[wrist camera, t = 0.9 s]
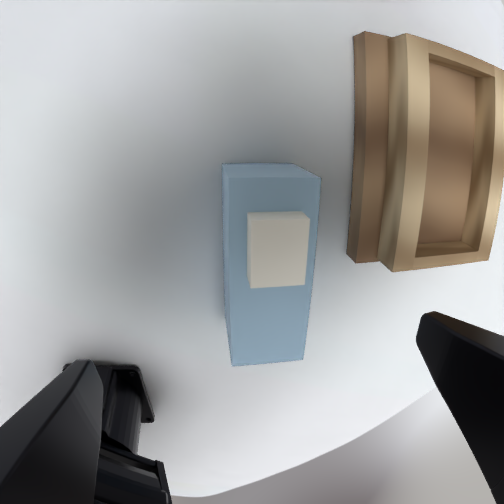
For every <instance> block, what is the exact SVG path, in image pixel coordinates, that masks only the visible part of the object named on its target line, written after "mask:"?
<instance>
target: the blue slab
mask: <svg viewBox="0 0 504 504" xmlns="http://www.w3.org/2000/svg"><path fill="white" fill-rule="evenodd" d="M320 188H321V178H320V177H318V176H316V175H314V174H312V173H310V172H309V171H307V170H305V169H303V168H301V167H299V166H296V165H294V164H292V163H230V164H222V206H223V258H224V294H225V319H226V327H227V334H228V342H229V349H230V356H231V363H232V366H243V365H256V364H267V363H277V362H286V361H295V360H303V357H304V350H305V342H306V334H307V327H308V318H309V310H310V301H311V292H312V283H313V273H314V263H315V253H316V241H317V230H318V217H319V203H320Z"/></svg>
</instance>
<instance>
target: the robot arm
mask: <svg viewBox="0 0 504 504" xmlns="http://www.w3.org/2000/svg"><path fill="white" fill-rule="evenodd" d="M416 343H417V346H418V348H419V350H420V352H421V354H422V356H423V359H424V361H425V363H426V365H427V367H428V369H429V372H430V374H431V376H432V378H433V380H434V382H435V384H436V386H437V388H438V390H439V392H440V393H441V395H442V397H443V399H444V400H445V402H446V404H447V406H448V407H449V409H450V411H451V413H452V415H453V417H454V418H455V420H456V422H457V424H458V426H459V428H460V429H461V431H462V433H463V435H464V437H465V439H466V441H467V443H468V445H469V447H470V449H471V450H472V452H473V454H474V456H475V458H476V460H477V462H478V464H479V466H480V468H481V470H482V473H483V475H484V477H485V479H486V481H487V483H488V485H489V488H490V489H491V492H492V494H493V497H494V499H495V501H496V504H504V336H502V335H499V334H496V333H494V332H491V331H488V330H485V329H483V328H480V327H477V326H474V325H472V324H469V323H466V322H463V321H461V320H458V319H455V318H452V317H450V316H447V315H444V314H441V313H439V312H436V311H433V312H429V313H425V314H423V315H422V317H421V319H420V324H419V328H418V331H417V335H416ZM62 371H63V372H62V373H61V374H60V375H58V376H57V377H56V378H55V379H54V380H53V381H51V382H50V383H49V384H48V385H47V386H46V387H45V388H43V389H42V390H41V391H40V392H39V393H38V394H37V395H36V396H34V397H33V398H32V399H31V400H30V401H29V402H28V403H26V404H25V405H24V406H23V407H22V408H21V409H20V410H19V411H17V412H16V413H15V414H14V415H13V416H12V417H11V418H10V419H9V420H7V421H6V422H5V423H4V424H3V425H2V426H1V427H0V504H172V500H171V496H170V492H169V487H168V483H167V478H166V474H165V469H164V464H163V462H160V461H157V460H155V461H154V460H151V459H148V458H145V457H142V456H139V455H137V452H138V442H139V433H140V425H141V423H152V422H154V418H155V416H154V413H153V410H152V407H151V404H150V401H149V398H148V395H147V392H146V389H145V386H144V383H143V380H142V376H141V373H140V370H139V369H138V368H137V367H135V366H95V365H94V363H93V361H92V360H90V359H79V360H76V361H75V362H73V363H72V364H71V365H65V366H64V368H63V370H62ZM132 372H134V373H132Z"/></svg>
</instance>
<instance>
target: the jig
mask: <svg viewBox="0 0 504 504" xmlns="http://www.w3.org/2000/svg"><path fill="white" fill-rule="evenodd" d="M353 38H354V65H355V132H354V161H353V180H352V196H351V210H350V222H349V233H348V244H347V255H348V256H349V257H350V258H351V259H352V260H353V261H354V262H355V263H366V262H377V261H380V262H381V263H382V264H384V265H385V266H386V267H387V268H388V269H389V270H390V271H391V272H400V271H408V270H417V269H425V268H433V267H441V266H449V265H457V264H465V263H472V262H479V261H487V260H488V259H489V255H490V251H491V247H492V242H493V238H494V233H495V228H496V223H497V218H498V212H499V206H500V200H501V193H502V186H503V178H504V70H502V69H500V68H498V67H496V66H494V65H491V64H489V63H487V62H485V61H483V60H480V59H478V58H476V57H473V56H471V55H468V54H466V53H463V52H461V51H458V50H456V49H453V48H450V47H447V46H445V45H442V44H439V43H436V42H433V41H430V40H427V39H424V38H421V37H418V36H414V35H411V34H407V33H405V34H402V35H399V36H396V37H388V36H384V35H380V34H375V33H371V32H366V31H364V32H362V33H360V34H358V35H355V36H353Z"/></svg>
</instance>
